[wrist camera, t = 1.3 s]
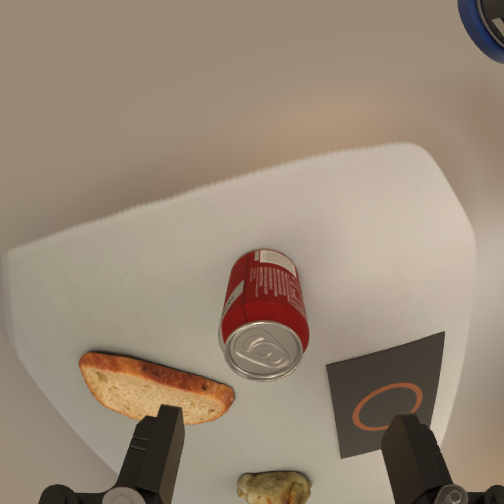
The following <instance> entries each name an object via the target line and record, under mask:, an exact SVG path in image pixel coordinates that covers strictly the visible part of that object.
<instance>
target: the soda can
mask: <svg viewBox="0 0 504 504" xmlns="http://www.w3.org/2000/svg"><path fill="white" fill-rule="evenodd" d="M218 339H219V344H220V347H221V349H222V351H223V353H224V356H225V360H226V362H227V364H228V365H229V367H230V368H231V369H232V370H233V371H234V372H235V373H237V374H238V375H240V376H242V377H244V378H246V379H249V380H253V381H260V382H267V381H274V380H278V379H281V378H284V377H286V376H287V375H289V374H291V373H292V372H293V371H294V370H295V369H296V368H297V367H298V366H299V364H300V362H301V360H302V356H303V353H304V352H305V350H306V348H307V345H308V342H309V329H308V323H307V318H306V313H305V308H304V302H303V297H302V292H301V287H300V282H299V277H298V273H297V270H296V267H295V265H294V264H293V262H292V261H291V260H290V259H289V258H288V257H287V256H285V255H284V254H282V253H280V252H278V251H275V250H271V249H257V250H253V251H250V252H248V253H246V254H244V255H243V256H242V257H240V258H239V259H238V260H237V262H236V263H235V264H234V266H233V268H232V271H231V274H230V279H229V284H228V288H227V293H226V298H225V302H224V307H223V312H222V317H221V321H220V326H219V332H218Z"/></svg>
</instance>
